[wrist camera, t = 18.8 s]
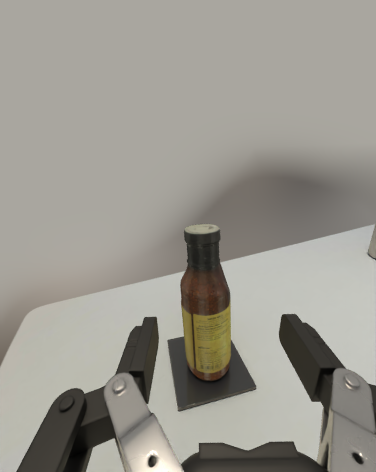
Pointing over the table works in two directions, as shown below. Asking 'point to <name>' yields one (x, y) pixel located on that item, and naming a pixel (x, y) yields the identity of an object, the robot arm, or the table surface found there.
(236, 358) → the slate coaster
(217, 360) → the sauce bottle
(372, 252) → the cylinder vase
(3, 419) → the table surface
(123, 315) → the table surface
